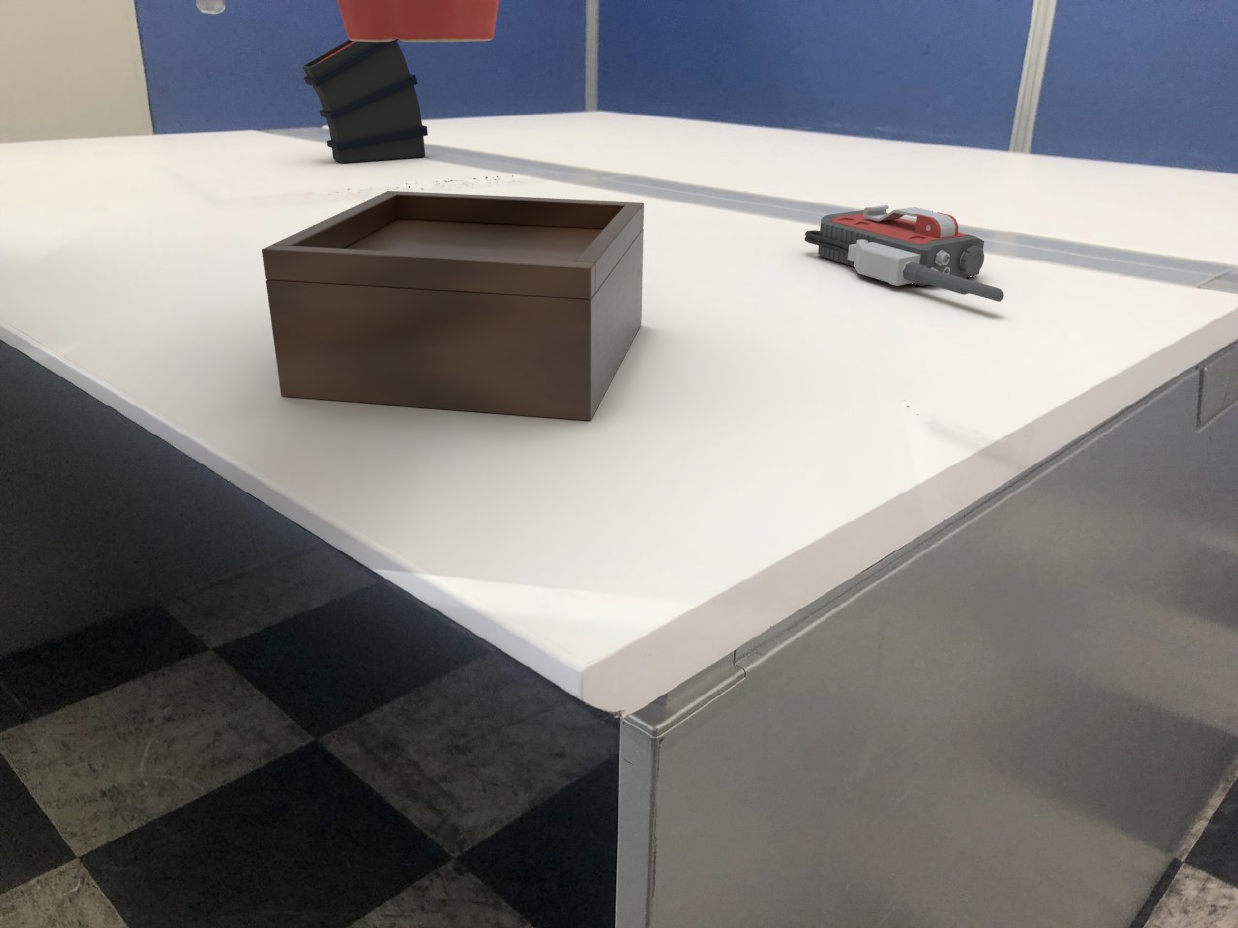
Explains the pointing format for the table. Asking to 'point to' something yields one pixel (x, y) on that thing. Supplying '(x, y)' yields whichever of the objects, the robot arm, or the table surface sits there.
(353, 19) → the flower pot
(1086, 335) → the table surface
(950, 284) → the walkie-talkie
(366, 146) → the magazine
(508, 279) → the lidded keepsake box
